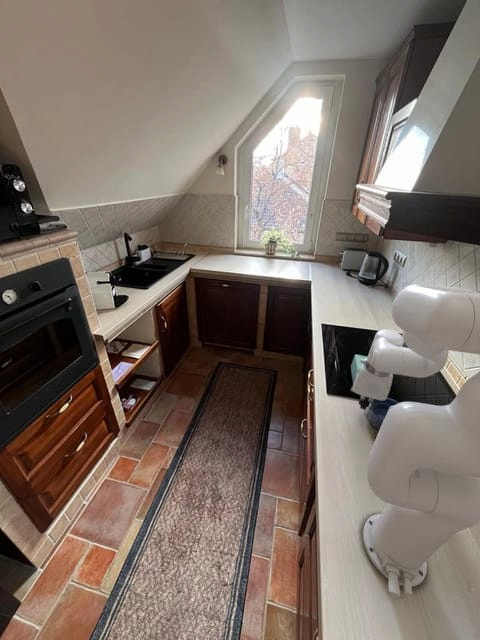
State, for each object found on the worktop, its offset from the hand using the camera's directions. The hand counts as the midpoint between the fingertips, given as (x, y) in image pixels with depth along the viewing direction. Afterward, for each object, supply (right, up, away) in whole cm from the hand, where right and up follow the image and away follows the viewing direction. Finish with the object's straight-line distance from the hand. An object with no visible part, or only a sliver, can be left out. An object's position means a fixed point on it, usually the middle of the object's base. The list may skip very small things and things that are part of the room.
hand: (362, 406), depth 89 cm
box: (+7, +6, +16) cm, 19 cm away
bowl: (+7, -4, -1) cm, 9 cm away
